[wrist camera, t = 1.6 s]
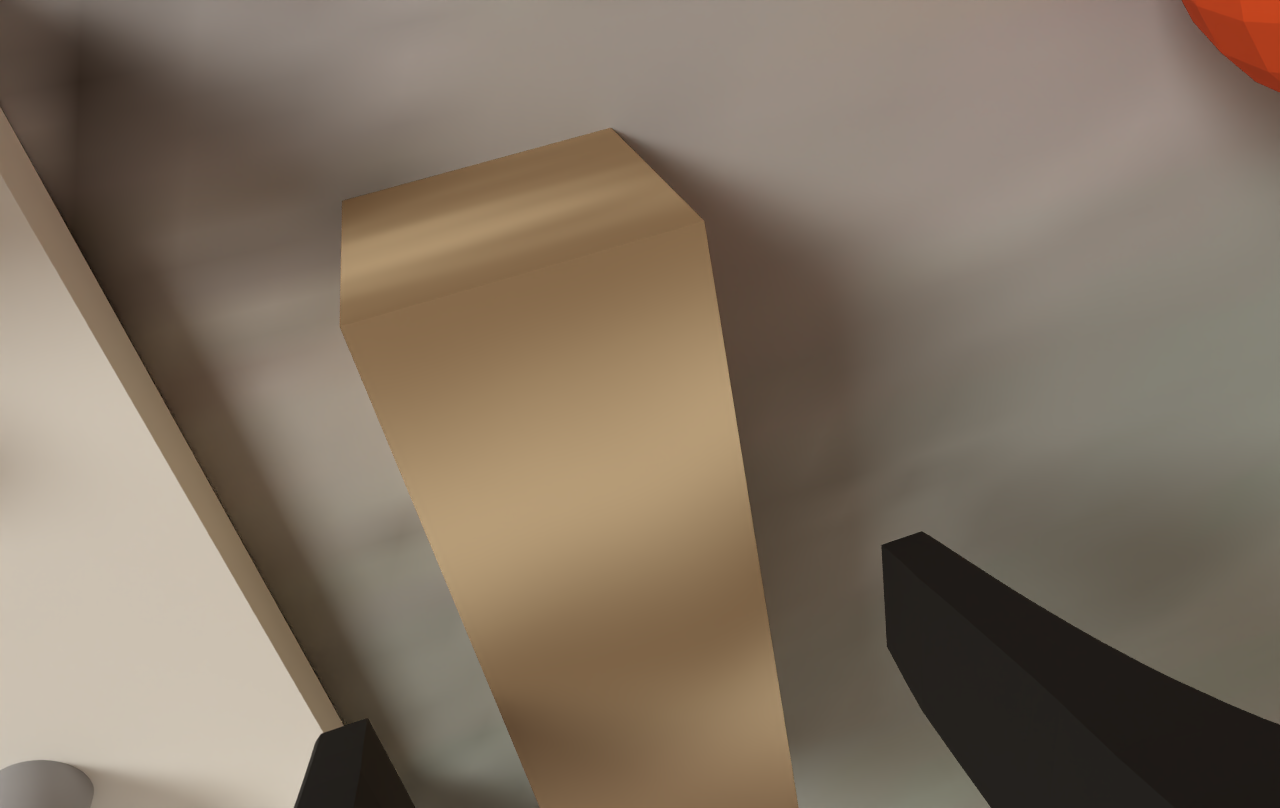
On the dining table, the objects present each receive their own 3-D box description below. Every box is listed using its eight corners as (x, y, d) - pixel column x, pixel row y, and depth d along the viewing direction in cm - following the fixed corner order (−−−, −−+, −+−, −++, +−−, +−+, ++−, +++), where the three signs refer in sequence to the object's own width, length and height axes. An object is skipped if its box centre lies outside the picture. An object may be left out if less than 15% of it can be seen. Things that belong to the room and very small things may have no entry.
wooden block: (720, 664, 20) (804, 846, 16) (544, 727, 20) (590, 929, 16) (607, 123, 14) (704, 221, 10) (342, 196, 13) (339, 326, 10)
